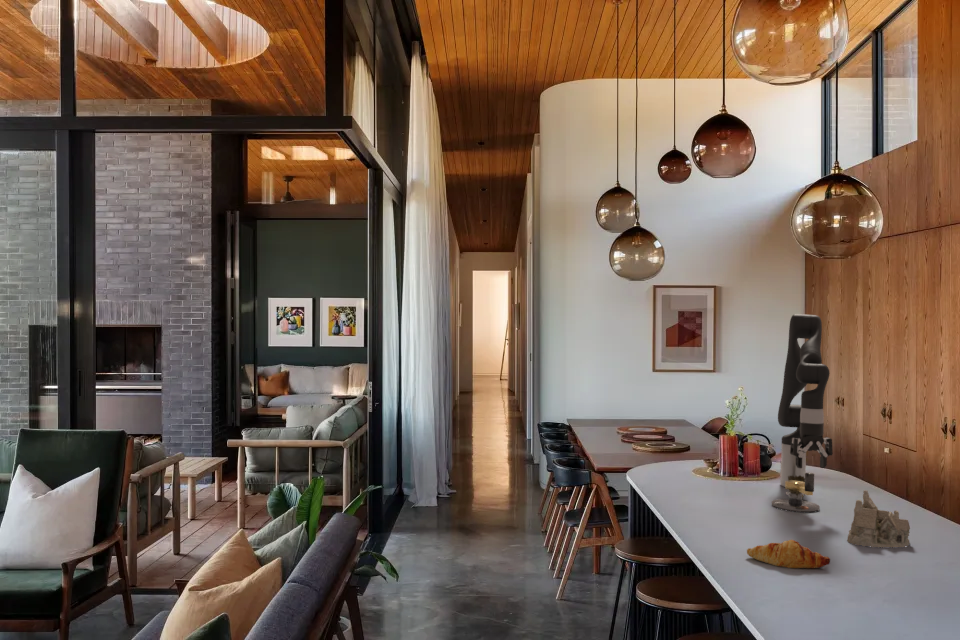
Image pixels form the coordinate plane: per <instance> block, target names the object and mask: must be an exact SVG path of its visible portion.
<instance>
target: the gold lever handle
mask: <svg viewBox="0 0 960 640" xmlns="http://www.w3.org/2000/svg"><path fill="white" fill-rule="evenodd" d="M784 489H785V490H788V491H789V490H791V491H799V492H801V493H803V494H805V496H813V495H814V494H813V493H814V492H815V473H814V472H806V473H805V482H801V481H785V488H784Z"/></svg>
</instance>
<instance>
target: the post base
mask: <svg viewBox="0 0 960 640" xmlns="http://www.w3.org/2000/svg"><path fill="white" fill-rule="evenodd" d="M785 494H786V495H787V496H788V498H780V499H778V498H777V499H773V500H771V507H773V508H775V509H777V508H778V509H777V510H781V509H782V510H781V511H785V510H787V511H786V512H792V511H794V513H804V512H809V513H816V512H815V511H817V512H819V511H820V510H821V507H820V505H819V504H817V503H814V502H811V501H807V500H803V498H802V495H803V496H806V494H803V493H801V492H799V491H791V490H788V491H785ZM818 510H819V511H818Z"/></svg>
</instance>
